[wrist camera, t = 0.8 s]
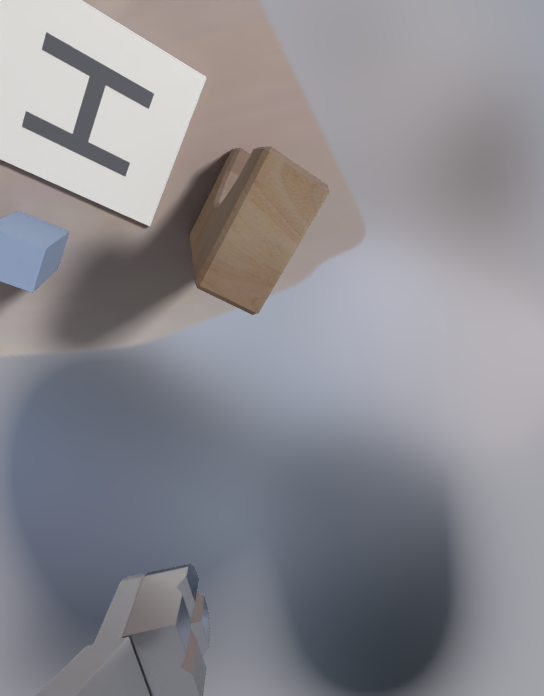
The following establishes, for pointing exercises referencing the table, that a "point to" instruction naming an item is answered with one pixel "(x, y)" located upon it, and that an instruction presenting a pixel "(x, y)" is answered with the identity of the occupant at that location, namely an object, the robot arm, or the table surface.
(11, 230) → the slate-blue block
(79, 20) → the letter board
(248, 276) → the decorative block
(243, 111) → the table surface
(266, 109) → the table surface
